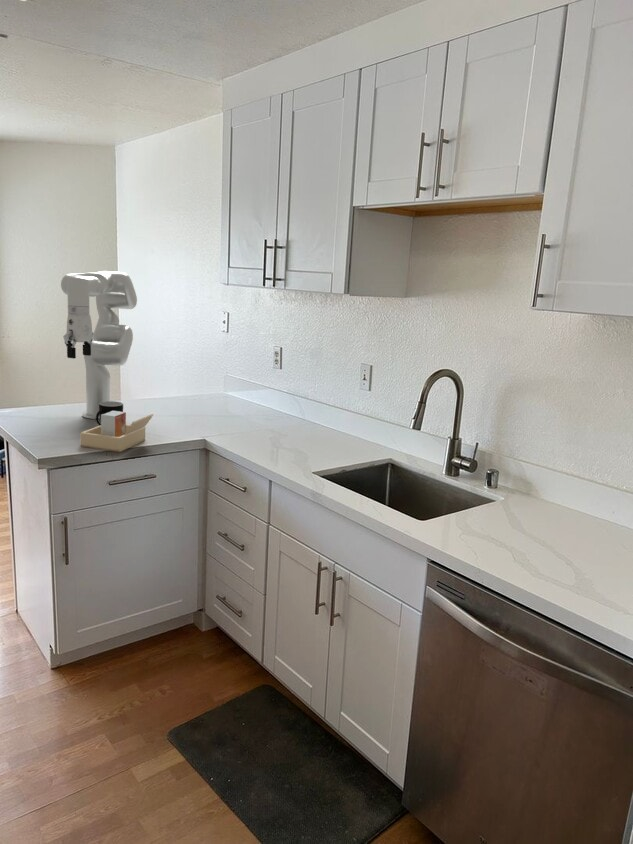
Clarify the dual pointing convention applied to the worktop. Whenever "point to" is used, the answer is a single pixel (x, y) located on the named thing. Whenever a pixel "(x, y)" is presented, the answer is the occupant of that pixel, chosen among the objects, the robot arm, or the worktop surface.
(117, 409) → the mug
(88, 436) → the carton
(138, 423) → the flap
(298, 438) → the worktop surface
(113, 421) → the small box
